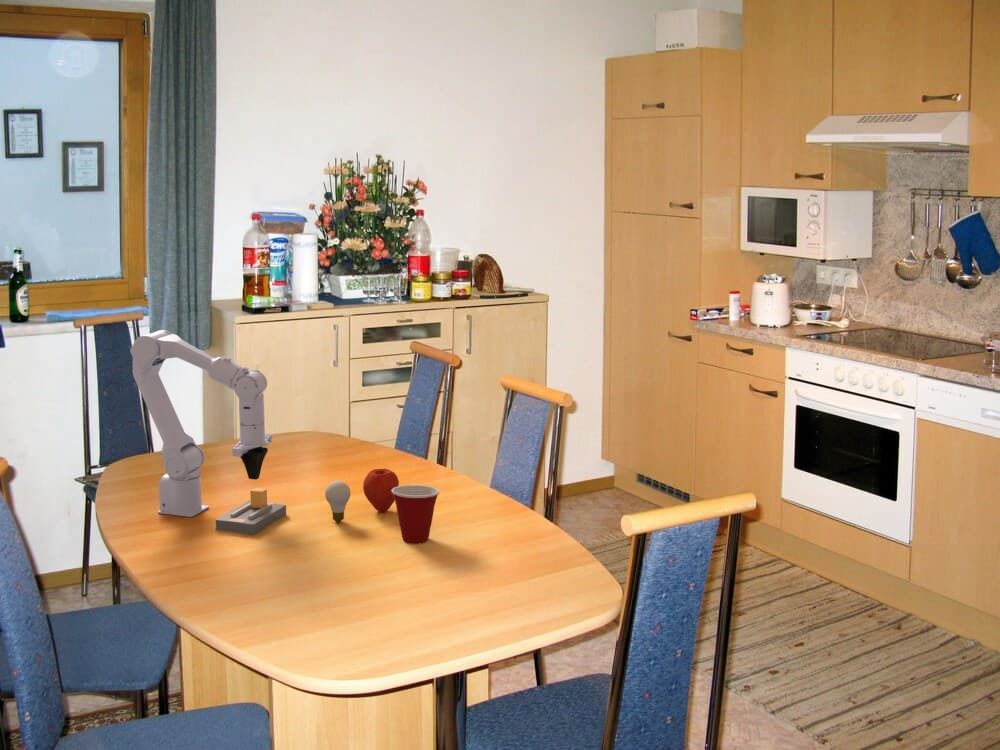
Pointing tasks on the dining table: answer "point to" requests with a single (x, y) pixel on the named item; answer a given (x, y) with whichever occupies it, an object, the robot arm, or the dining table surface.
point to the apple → (380, 488)
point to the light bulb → (337, 498)
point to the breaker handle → (258, 497)
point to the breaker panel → (250, 518)
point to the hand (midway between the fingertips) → (253, 478)
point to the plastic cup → (415, 511)
